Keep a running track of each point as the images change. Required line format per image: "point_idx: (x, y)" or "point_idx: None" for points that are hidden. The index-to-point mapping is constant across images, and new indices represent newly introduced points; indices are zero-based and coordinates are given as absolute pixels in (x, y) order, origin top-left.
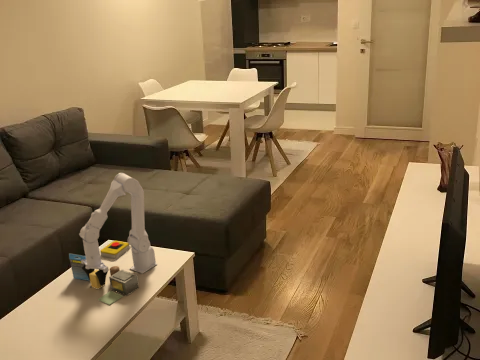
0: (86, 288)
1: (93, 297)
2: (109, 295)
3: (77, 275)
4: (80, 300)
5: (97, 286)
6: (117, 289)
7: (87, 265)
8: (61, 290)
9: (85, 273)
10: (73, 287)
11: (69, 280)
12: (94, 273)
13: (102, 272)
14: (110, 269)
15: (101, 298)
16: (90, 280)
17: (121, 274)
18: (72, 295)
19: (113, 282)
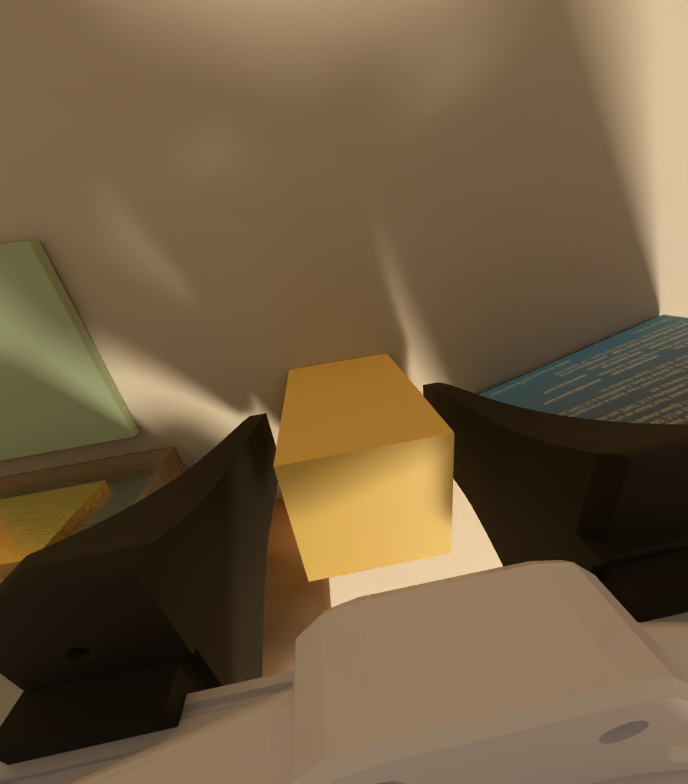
0: (396, 297)
1: (148, 240)
2: (38, 384)
3: (651, 346)
4: (194, 47)
5: (287, 384)
6: (52, 488)
7: (645, 770)
8: (651, 29)
9: (574, 415)
10: (546, 204)
11: (682, 262)
12: (385, 496)
13: (25, 677)
14: (291, 649)
15: (19, 286)
16: (404, 381)
17: (12, 707)
18: (413, 56)
19: (8, 548)
